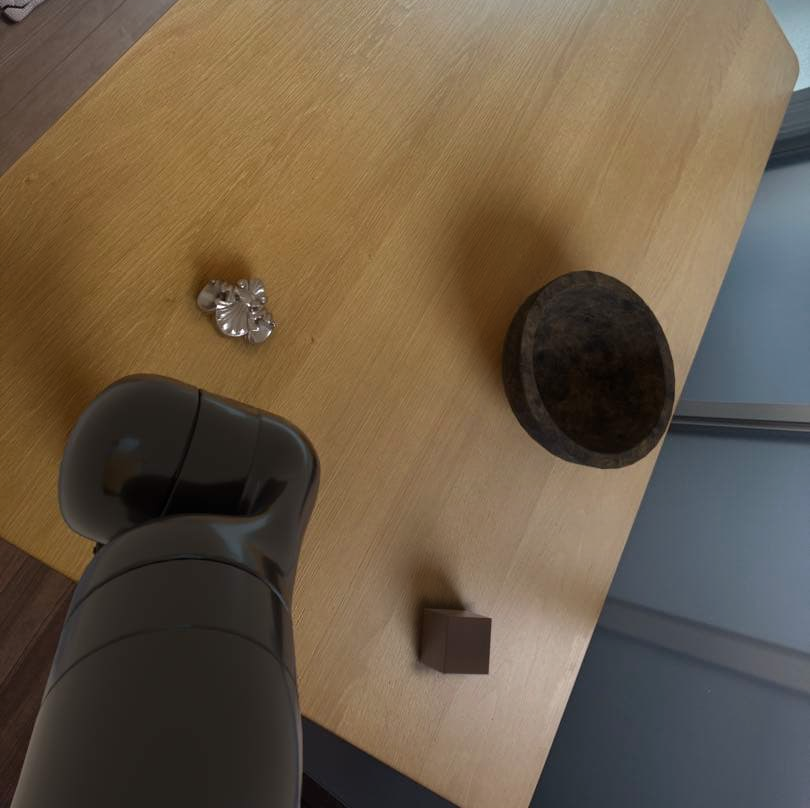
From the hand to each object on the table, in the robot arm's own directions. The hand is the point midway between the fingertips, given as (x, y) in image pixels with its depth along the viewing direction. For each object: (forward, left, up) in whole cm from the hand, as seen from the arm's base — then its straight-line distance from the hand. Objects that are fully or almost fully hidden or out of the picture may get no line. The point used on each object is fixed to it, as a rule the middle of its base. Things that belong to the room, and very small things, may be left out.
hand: (116, 476), depth 60 cm
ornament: (+19, -2, -6) cm, 20 cm away
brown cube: (+1, -37, -5) cm, 37 cm away
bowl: (+32, -38, -6) cm, 50 cm away
